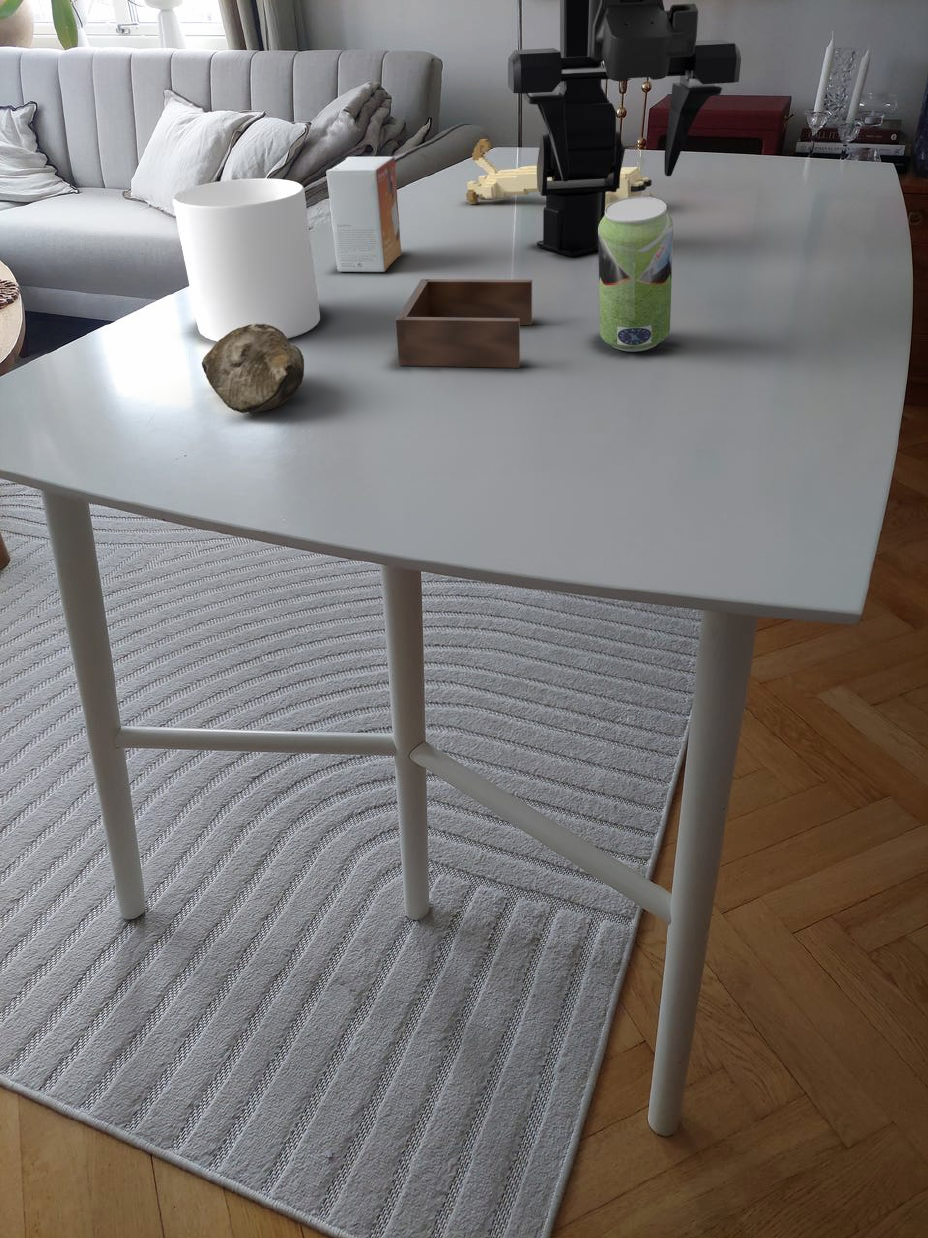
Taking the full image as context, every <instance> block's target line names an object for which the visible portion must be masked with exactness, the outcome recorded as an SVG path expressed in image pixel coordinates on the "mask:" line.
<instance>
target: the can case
mask: <svg viewBox="0 0 928 1238" xmlns="http://www.w3.org/2000/svg"><path fill="white" fill-rule="evenodd" d="M532 324H533V279H485V278H483V279H481V278H478V279H469V278H468V279H467V278H464V279H463V278H462V279H461V278H456V279H455V278H429V279H428V278H421V279H420V281H419V282H418V284H417V285H416V287H415V289H414V290H413V292H412V293H411V295H410V296H409V298H408V300H407V301H406V303H405V304H404V306H403V307H402V309H401V310H400V312H399V314H398V315H397V317H396V318H395V330H396V331H395V332H396V343H397V355H398V365H399V366H405V367H449V368H450V367H451V368H453V367H455V368H504V369H505V368H506V369H507V368H508V369H519V368H520V366H521V326H532Z"/></svg>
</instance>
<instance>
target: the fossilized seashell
mask: <svg viewBox="0 0 928 1238" xmlns="http://www.w3.org/2000/svg"><path fill="white" fill-rule="evenodd" d="M201 366H202V367H201V368H202V369H203V373H204V374H205V377H206V379H207V382H208V384H209V385H210V386H211V388H212V389H213V391H214V392H215V394H216V395H218V397H219V398H220V399H221V400H222V402H223V403H224V405H226V406H227V407H228V408H229V409H231V410H233V411H234V412H238V413H241V414H248V413H257V412H267V411H269V410H273V409H277V408H278V407H281V406H282V405H283V404H285V403H286V402H287V401H289V400H291V398H293V396H294V395H295V394H296V393H297V391H298V390H299V387H300V386H301V384H302V383H303V379H304V377H305V376H304V375H305V358H304V355H303V353H302V351H301V350H300V349H299V347H298V346H296V345H293V344H292V343H290V341H289V339H287V337H286V336H285V335H284V333H283V332H282V331H280V330H279V329H277V328H275V327H273V326H271V325H266V324H250V325H247V326H244V327H241V328H237V329H235V330H233V331H231V332H230V333H229V334H227V335H226V336H224V337H223V338H222V339H220V340H219V341H218V342H215V344H214V345H213V346H212V348H211V349H210V350H209V351H208V352H207V353H206V354H205V355H204V357H203V358H202V361H201Z"/></svg>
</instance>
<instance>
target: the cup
mask: <svg viewBox="0 0 928 1238" xmlns="http://www.w3.org/2000/svg"><path fill="white" fill-rule="evenodd" d="M172 204H173V209H174V210H173V211H174V214H175V221H176V226H177V229H178V230H177V231H178V235H179V240H180V244H181V250H182V255H183V259H184V265H185V270H186V275H187V280H188V285H189V290H190V294H191V301H192V305H193V310H194V314H195V315H194V316H195V320H196V323H197V329H198V332H199V333H200V335H201V336H203V337H204V338H206V339H208V340H210V341H213V342H215V343H217V342H218V341H219V340H220V339H222V338H223V337H224V336H226V335H227V334H229V333H230V332H231V331H233V330H235V329H237V328H241V327H244V326H247V325H250V324H266V325H271V326H273V327H275V328H277V329H279V330H280V331H282V332H283V333H284V335H285V336H286V337H287V339H288V340H289V339H293V338H295V337H298V336H302V335H303V334H305V333H307V332H310V331H311V330H313V329H314V328H315V327H316V326H317V325H318V324H319V323H320V320H321V314H320V312H321V311H320V304H319V297H318V289H317V288H318V287H317V281H316V272H315V264H314V256H313V249H312V248H313V247H312V241H311V240H312V239H311V232H310V225H309V224H310V223H309V216H308V208H307V201H306V193H305V187H304V186H303V184H301V183H299V182H296V181H293V180H288V179H283V178H282V179H281V178H260V177H259V178H258V177H257V178H239V179H228V180H221V181H214V182H208V183H202V184H198V185H194V186H191V187H187V188H185V189H183V190H180V191H179V192H177V193H175V194H174V196H173V199H172Z"/></svg>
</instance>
